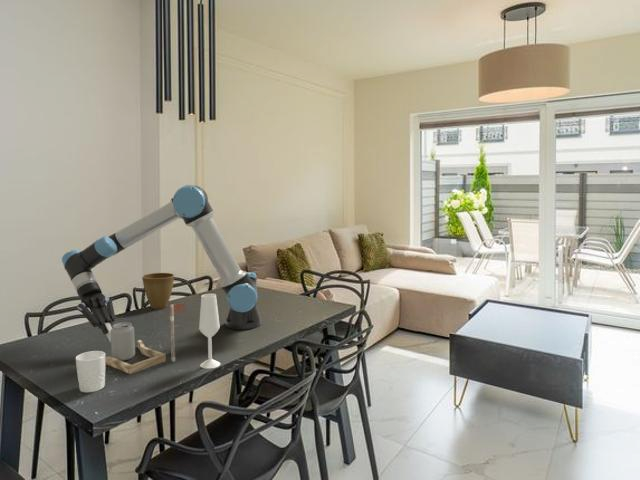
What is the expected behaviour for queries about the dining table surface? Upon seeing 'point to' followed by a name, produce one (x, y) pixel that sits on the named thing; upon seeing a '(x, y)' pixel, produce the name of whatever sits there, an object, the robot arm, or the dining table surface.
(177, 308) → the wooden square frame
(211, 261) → the robot arm
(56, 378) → the dining table surface
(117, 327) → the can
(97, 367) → the white cup
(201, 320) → the champagne flute
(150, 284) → the plant pot
